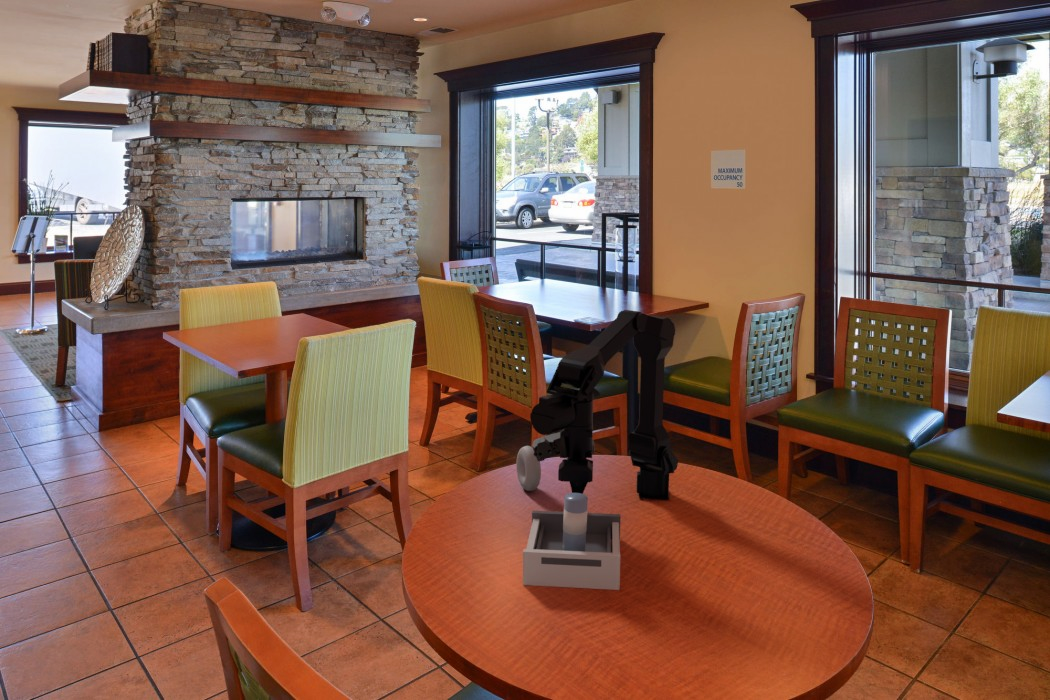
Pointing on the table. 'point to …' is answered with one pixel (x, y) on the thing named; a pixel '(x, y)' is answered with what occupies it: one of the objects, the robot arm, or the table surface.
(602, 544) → the tray
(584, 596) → the table surface
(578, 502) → the canister
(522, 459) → the donut
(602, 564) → the dock
